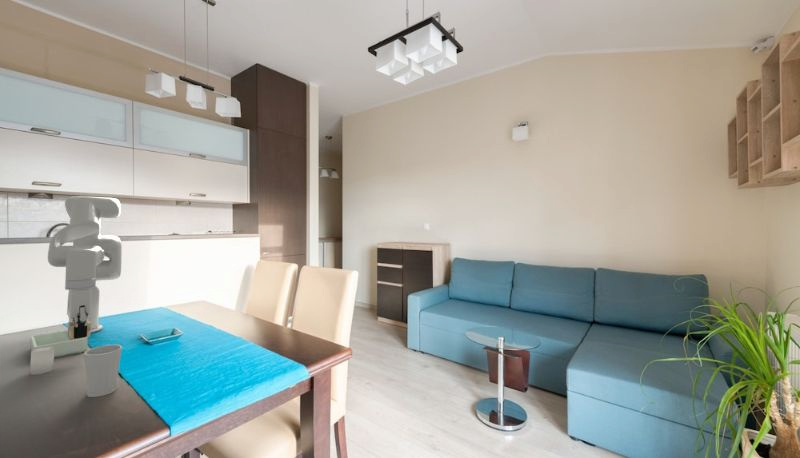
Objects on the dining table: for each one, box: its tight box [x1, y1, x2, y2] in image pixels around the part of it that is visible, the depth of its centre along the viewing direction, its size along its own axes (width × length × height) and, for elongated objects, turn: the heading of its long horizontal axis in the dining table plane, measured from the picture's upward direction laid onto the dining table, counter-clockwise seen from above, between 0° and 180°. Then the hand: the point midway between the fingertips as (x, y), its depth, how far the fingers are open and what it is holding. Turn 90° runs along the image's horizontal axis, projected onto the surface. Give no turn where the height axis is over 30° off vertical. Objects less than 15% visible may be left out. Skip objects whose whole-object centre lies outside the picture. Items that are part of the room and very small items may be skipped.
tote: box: [30, 329, 89, 359], centre depth 120 cm, size 17×13×5 cm
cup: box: [83, 344, 123, 398], centre depth 92 cm, size 8×8×12 cm
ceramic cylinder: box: [29, 347, 55, 376], centre depth 103 cm, size 5×5×7 cm
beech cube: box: [67, 319, 91, 340], centre depth 112 cm, size 5×5×5 cm
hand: (79, 334), depth 112 cm, fingers closed on beech cube, 5 cm apart
